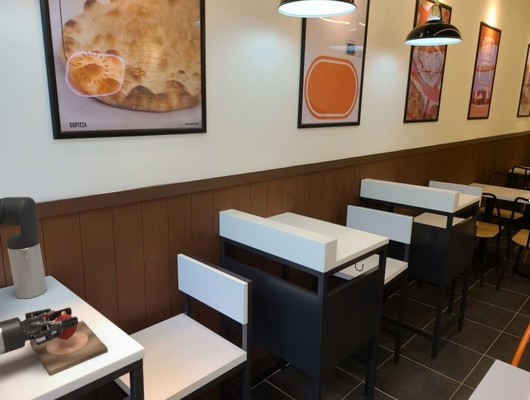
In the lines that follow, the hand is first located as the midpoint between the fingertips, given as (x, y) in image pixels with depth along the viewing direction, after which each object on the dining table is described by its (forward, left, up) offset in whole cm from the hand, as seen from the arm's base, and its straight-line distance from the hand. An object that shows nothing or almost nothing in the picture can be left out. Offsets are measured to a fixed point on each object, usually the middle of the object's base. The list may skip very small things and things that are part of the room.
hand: (74, 315), depth 109 cm
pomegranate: (+1, -2, -6) cm, 7 cm away
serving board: (+1, -2, -9) cm, 9 cm away
